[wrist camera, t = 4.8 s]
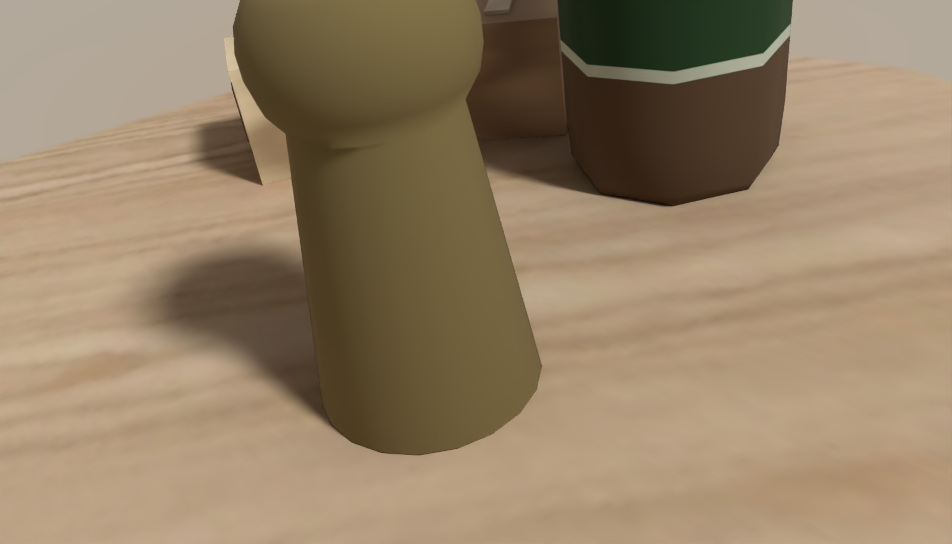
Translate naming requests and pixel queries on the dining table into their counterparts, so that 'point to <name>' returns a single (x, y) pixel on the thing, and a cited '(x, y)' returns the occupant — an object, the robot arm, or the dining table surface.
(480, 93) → the walnut cube marked
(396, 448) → the cork
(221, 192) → the dining table surface
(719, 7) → the beer bottle
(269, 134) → the beech cube marked
